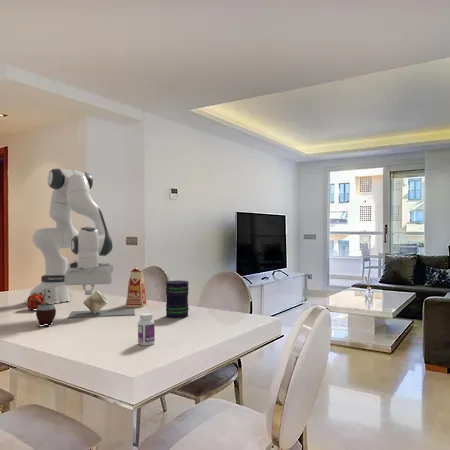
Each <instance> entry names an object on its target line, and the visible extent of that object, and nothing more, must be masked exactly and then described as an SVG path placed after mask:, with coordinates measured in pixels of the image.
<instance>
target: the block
mask: <svg viewBox="0 0 450 450" xmlns="http://www.w3.org/2000/svg"><path fill="white" fill-rule="evenodd" d="M83 304H84V305H85V306H86V308H88V309H89V310H88V311H91V312H92V313H93V314H95V313H96V312H98V311H99V310H102V308H104V307H105V306H106V305H107V304H108V299H107V298H106V297H105V296H104V295H103V294H102V293H101V292H100V291H99V289H96V290H95V291H94V292H92V295H89V296H88V297H87V298H86V299H84V301H83Z"/></svg>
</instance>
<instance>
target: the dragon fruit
mask: <svg viewBox="0 0 450 450" xmlns="http://www.w3.org/2000/svg"><path fill="white" fill-rule="evenodd" d="M27 299H28V301H27V304H26V306H27V309H28V310H31V309H37V308H38V306H39V305H43V304H44V295H41V294H39V293H37V294H36V293H33V294H32V295H31V296H28V297H27V298H26V300H27ZM45 304H48V303H47V302H45Z"/></svg>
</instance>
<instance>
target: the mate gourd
mask: <svg viewBox="0 0 450 450" xmlns="http://www.w3.org/2000/svg"><path fill="white" fill-rule="evenodd" d="M45 302H46V289H44V304H43V305H39V306H38V308H37V311H35V315H36V318H37V321H38V326H39V325H44V324H48V325H51V323H53V324H54V319H55V317H56V315H57V311H56V306H55V304H45Z"/></svg>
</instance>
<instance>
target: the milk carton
mask: <svg viewBox="0 0 450 450" xmlns="http://www.w3.org/2000/svg"><path fill="white" fill-rule="evenodd" d="M127 286H128V287H127V295H126V301H125V306H124V307H125V308H144V307H146V306H147V305H148V303H147V294H146V293H147V291H146V286H145V278H144V273H143V272H142V271H141V270H139V268H138V267H137V266H136V265H134V268H133V269H132V270H131V271H130V274H129V278H128V285H127Z"/></svg>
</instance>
